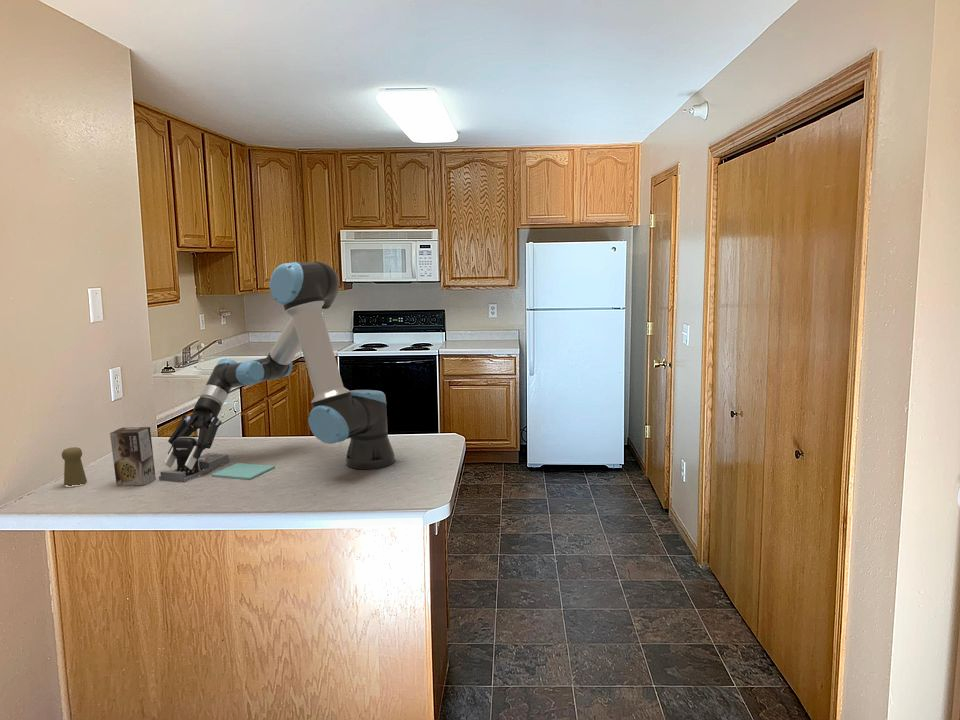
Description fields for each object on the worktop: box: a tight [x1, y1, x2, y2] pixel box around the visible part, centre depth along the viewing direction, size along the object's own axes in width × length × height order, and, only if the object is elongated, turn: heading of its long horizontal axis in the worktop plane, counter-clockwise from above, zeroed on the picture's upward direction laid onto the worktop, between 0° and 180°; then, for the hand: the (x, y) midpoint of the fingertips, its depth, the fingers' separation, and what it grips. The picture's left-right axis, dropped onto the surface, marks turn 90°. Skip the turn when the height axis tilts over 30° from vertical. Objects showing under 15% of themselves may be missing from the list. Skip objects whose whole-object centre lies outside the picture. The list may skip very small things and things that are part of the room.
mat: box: [211, 462, 276, 481], centre depth 211 cm, size 14×12×1 cm
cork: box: [61, 446, 88, 486], centre depth 204 cm, size 6×6×11 cm
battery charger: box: [173, 436, 201, 476], centre depth 209 cm, size 7×4×11 cm, turn 83°
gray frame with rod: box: [158, 452, 230, 483], centre depth 215 cm, size 19×20×3 cm
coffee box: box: [109, 426, 157, 486], centre depth 203 cm, size 9×6×16 cm
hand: (177, 466), depth 207 cm, fingers closed on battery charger, 7 cm apart
